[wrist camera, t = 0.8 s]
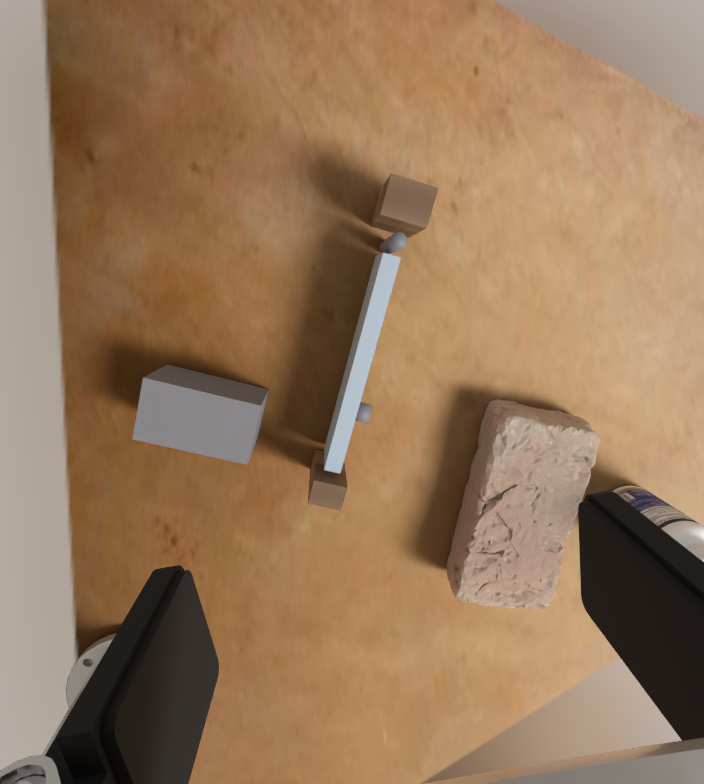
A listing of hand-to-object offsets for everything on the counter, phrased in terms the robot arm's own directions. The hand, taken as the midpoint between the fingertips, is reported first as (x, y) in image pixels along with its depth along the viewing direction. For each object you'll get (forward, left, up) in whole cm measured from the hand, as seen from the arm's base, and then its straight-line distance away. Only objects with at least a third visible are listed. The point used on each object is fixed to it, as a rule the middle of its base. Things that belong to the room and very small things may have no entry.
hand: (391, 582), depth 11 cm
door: (+2, -1, -26) cm, 26 cm away
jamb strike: (-8, -1, -26) cm, 27 cm away
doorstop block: (-5, +9, -26) cm, 28 cm away
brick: (-7, -17, -27) cm, 32 cm away
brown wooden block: (+12, -1, -26) cm, 29 cm away
